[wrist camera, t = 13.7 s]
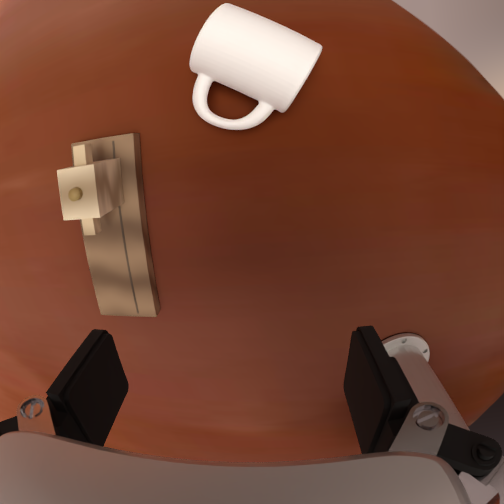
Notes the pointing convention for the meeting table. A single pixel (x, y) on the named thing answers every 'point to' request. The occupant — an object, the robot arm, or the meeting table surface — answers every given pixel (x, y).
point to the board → (122, 238)
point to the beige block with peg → (90, 188)
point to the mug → (250, 63)
